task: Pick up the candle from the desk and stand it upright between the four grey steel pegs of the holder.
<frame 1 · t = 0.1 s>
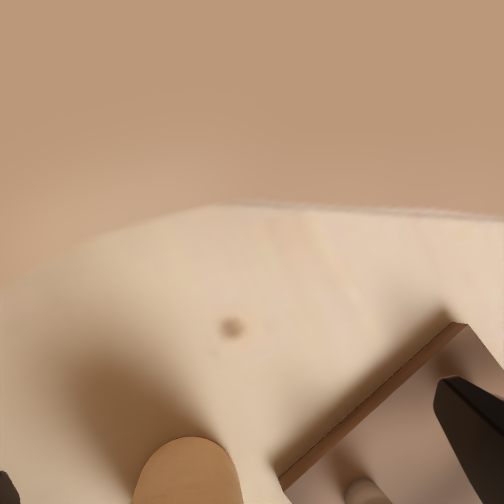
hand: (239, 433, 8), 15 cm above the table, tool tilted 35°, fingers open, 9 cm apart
peg holder: (440, 489, 24), on the table
candle: (188, 484, 23), on the table
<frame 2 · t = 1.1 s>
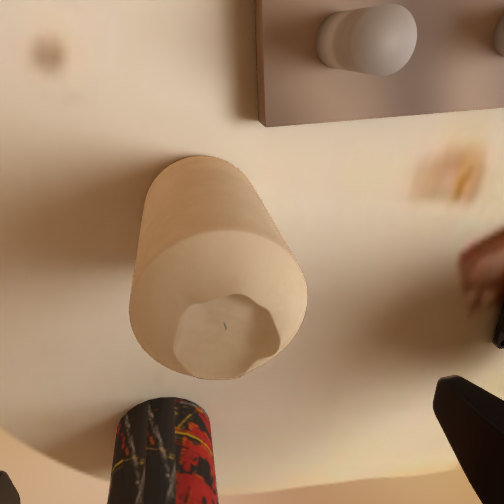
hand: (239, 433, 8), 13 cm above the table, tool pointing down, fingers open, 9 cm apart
deodorant: (164, 428, 27), on the table
candle: (201, 208, 20), on the table
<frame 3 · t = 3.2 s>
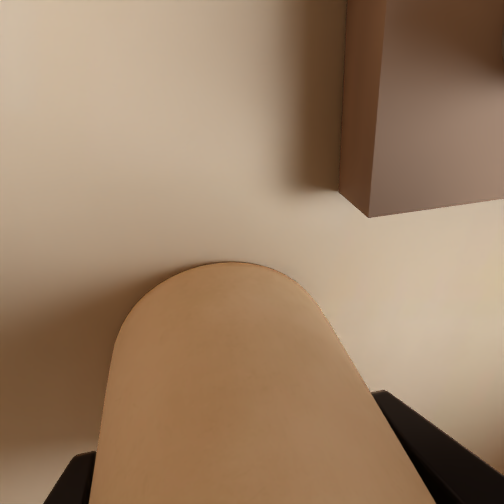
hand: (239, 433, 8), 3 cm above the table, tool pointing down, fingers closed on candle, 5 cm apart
candle: (222, 345, 11), on the table, touching gripper
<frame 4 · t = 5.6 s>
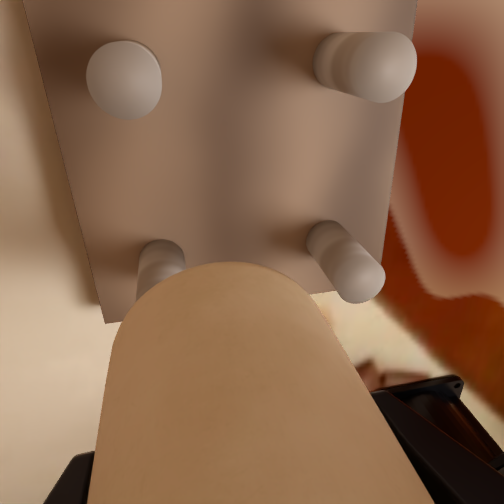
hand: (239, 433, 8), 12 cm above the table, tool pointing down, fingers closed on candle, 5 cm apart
peg holder: (237, 158, 18), on the table
candle: (221, 345, 11), point 10 cm above the table, touching gripper
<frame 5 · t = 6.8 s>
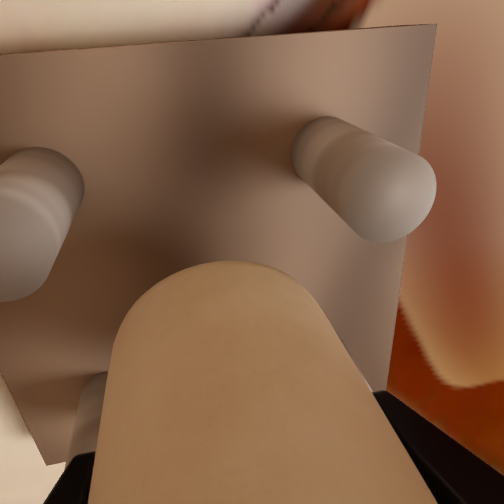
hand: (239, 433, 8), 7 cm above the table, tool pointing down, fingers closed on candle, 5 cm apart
peg holder: (202, 261, 15), on the table
candle: (221, 344, 11), point 4 cm above the table, touching gripper
when the fingers open (6 cm above the table, at t = 7.9 s): candle drops 2 cm, resting on peg holder.
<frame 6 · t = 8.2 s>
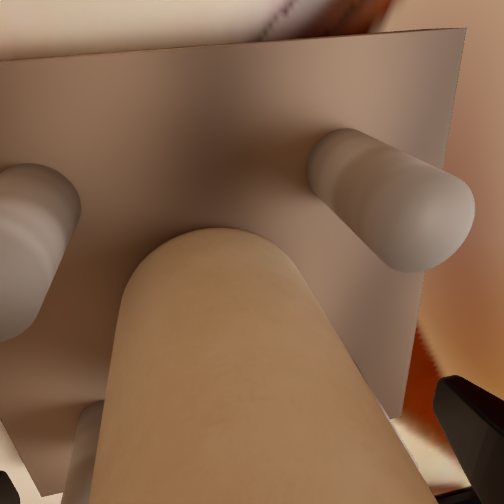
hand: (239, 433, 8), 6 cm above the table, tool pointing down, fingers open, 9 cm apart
peg holder: (208, 281, 14), on the table
candle: (214, 304, 12), point 1 cm above the table, touching peg holder
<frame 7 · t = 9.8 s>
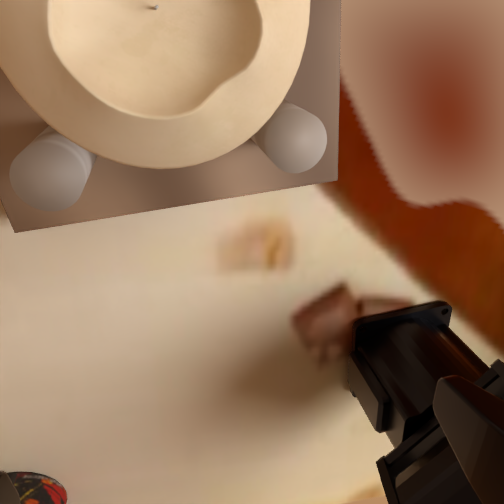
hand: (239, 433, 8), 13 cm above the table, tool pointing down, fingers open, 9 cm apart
peg holder: (151, 20, 15), on the table
deodorant: (18, 498, 26), on the table
candle: (153, 20, 14), point 1 cm above the table, touching peg holder
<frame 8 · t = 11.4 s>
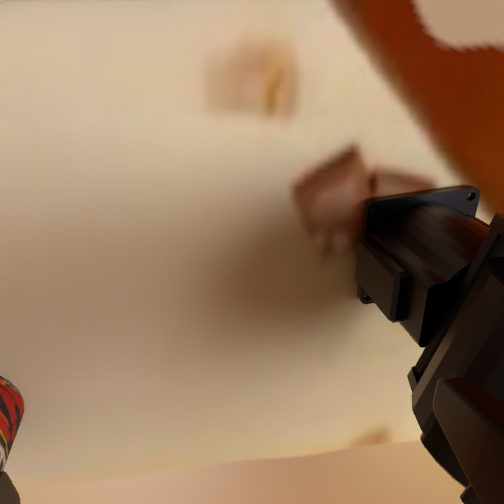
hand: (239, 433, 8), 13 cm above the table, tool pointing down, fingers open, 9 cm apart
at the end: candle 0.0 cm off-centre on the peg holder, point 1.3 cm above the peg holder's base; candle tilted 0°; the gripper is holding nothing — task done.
